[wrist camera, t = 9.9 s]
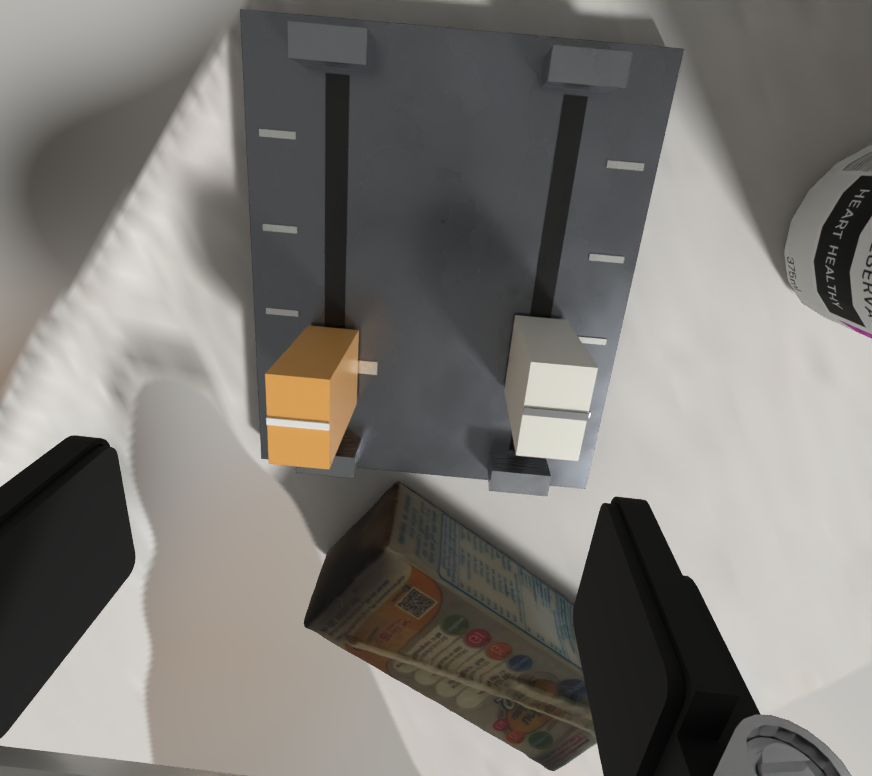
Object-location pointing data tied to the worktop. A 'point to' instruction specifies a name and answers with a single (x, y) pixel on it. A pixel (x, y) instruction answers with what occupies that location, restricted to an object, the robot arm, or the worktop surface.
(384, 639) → the beverage carton
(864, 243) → the supplement can
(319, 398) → the orange fader
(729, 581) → the worktop surface
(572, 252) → the console
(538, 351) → the cream fader
